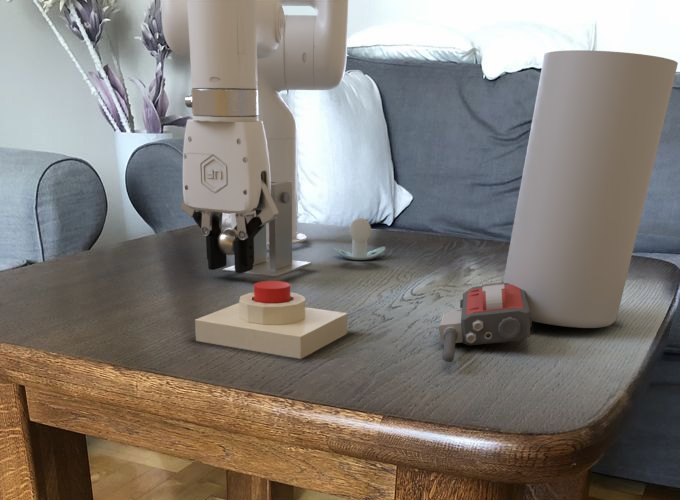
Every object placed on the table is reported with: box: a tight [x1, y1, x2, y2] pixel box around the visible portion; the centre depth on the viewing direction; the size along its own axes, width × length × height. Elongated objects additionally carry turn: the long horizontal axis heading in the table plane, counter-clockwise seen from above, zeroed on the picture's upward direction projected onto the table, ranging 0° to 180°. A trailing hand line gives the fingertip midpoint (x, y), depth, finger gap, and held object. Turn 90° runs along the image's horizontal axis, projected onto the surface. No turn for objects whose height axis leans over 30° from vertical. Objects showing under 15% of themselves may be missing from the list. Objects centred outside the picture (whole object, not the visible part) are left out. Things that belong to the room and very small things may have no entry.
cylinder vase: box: [502, 49, 679, 329], centre depth 84 cm, size 12×12×25 cm
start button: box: [253, 280, 291, 304], centre depth 81 cm, size 4×4×2 cm
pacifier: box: [333, 217, 386, 261], centre depth 115 cm, size 7×6×6 cm
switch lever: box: [217, 182, 275, 256], centre depth 103 cm, size 13×3×3 cm, turn 152°
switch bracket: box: [222, 181, 312, 279], centre depth 108 cm, size 10×8×12 cm
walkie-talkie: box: [438, 280, 533, 363], centre depth 81 cm, size 9×4×20 cm
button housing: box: [194, 291, 348, 360], centre depth 82 cm, size 12×10×4 cm
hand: (230, 268), depth 102 cm, fingers closed on switch lever, 3 cm apart
